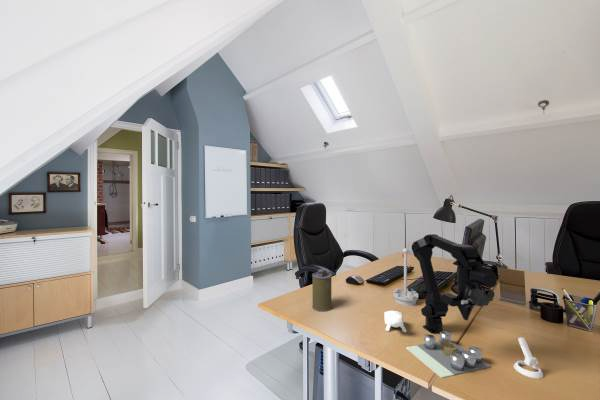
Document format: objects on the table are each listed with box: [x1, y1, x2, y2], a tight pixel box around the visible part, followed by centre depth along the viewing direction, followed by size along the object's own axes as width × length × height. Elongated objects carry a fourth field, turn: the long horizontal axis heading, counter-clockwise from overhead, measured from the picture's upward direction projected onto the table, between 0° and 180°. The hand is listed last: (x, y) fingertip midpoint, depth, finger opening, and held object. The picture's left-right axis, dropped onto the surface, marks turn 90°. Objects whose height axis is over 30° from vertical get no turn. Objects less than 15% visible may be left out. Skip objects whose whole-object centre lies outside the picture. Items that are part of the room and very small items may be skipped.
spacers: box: [423, 330, 483, 371], centre depth 101 cm, size 18×14×4 cm
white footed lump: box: [383, 310, 407, 333], centre depth 121 cm, size 9×8×15 cm
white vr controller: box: [513, 336, 544, 379], centre depth 94 cm, size 8×12×7 cm
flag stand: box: [392, 247, 419, 307], centre depth 151 cm, size 13×13×30 cm
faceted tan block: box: [441, 341, 458, 357], centre depth 102 cm, size 5×6×3 cm
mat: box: [405, 339, 492, 379], centre depth 100 cm, size 18×21×1 cm
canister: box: [311, 268, 333, 312], centre depth 144 cm, size 11×10×20 cm
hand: (465, 319), depth 103 cm, fingers closed
